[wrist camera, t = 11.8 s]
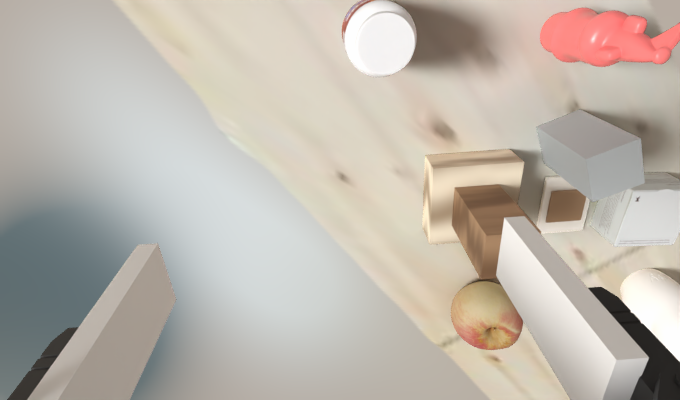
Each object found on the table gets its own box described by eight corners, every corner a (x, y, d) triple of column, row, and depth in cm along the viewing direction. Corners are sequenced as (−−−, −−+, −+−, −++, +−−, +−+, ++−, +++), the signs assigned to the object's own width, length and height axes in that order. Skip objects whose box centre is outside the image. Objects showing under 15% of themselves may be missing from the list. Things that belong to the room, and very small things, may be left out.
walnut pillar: (454, 187, 46) (486, 235, 37) (498, 184, 46) (541, 231, 37) (451, 225, 48) (480, 279, 39) (493, 222, 48) (532, 275, 39)
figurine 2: (604, 304, 60) (665, 372, 50) (630, 263, 57) (702, 326, 46) (647, 309, 61) (716, 377, 50) (675, 269, 58) (755, 333, 47)
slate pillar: (536, 126, 47) (585, 159, 38) (579, 109, 46) (640, 138, 37) (544, 163, 49) (592, 202, 40) (585, 147, 48) (644, 183, 40)
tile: (545, 176, 50) (548, 179, 49) (594, 173, 50) (598, 175, 49) (535, 231, 54) (538, 235, 53) (580, 228, 54) (583, 231, 53)
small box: (587, 226, 54) (612, 248, 49) (605, 171, 50) (633, 190, 46) (645, 224, 54) (674, 246, 50) (667, 170, 50) (701, 189, 46)
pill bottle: (393, -12, 40) (416, -12, 30) (407, 51, 43) (433, 70, 33) (332, 9, 40) (336, 16, 31) (351, 70, 43) (359, 95, 33)
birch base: (425, 155, 48) (433, 168, 44) (509, 148, 48) (524, 161, 45) (422, 227, 53) (429, 244, 49) (499, 221, 53) (512, 238, 49)
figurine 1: (561, -8, 40) (678, -5, 27) (594, 24, 42) (720, 41, 29) (523, 38, 42) (616, 61, 29) (556, 66, 44) (658, 101, 31)
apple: (506, 310, 60) (531, 354, 53) (447, 321, 61) (463, 366, 54) (505, 264, 56) (532, 304, 49) (441, 276, 57) (458, 317, 50)
